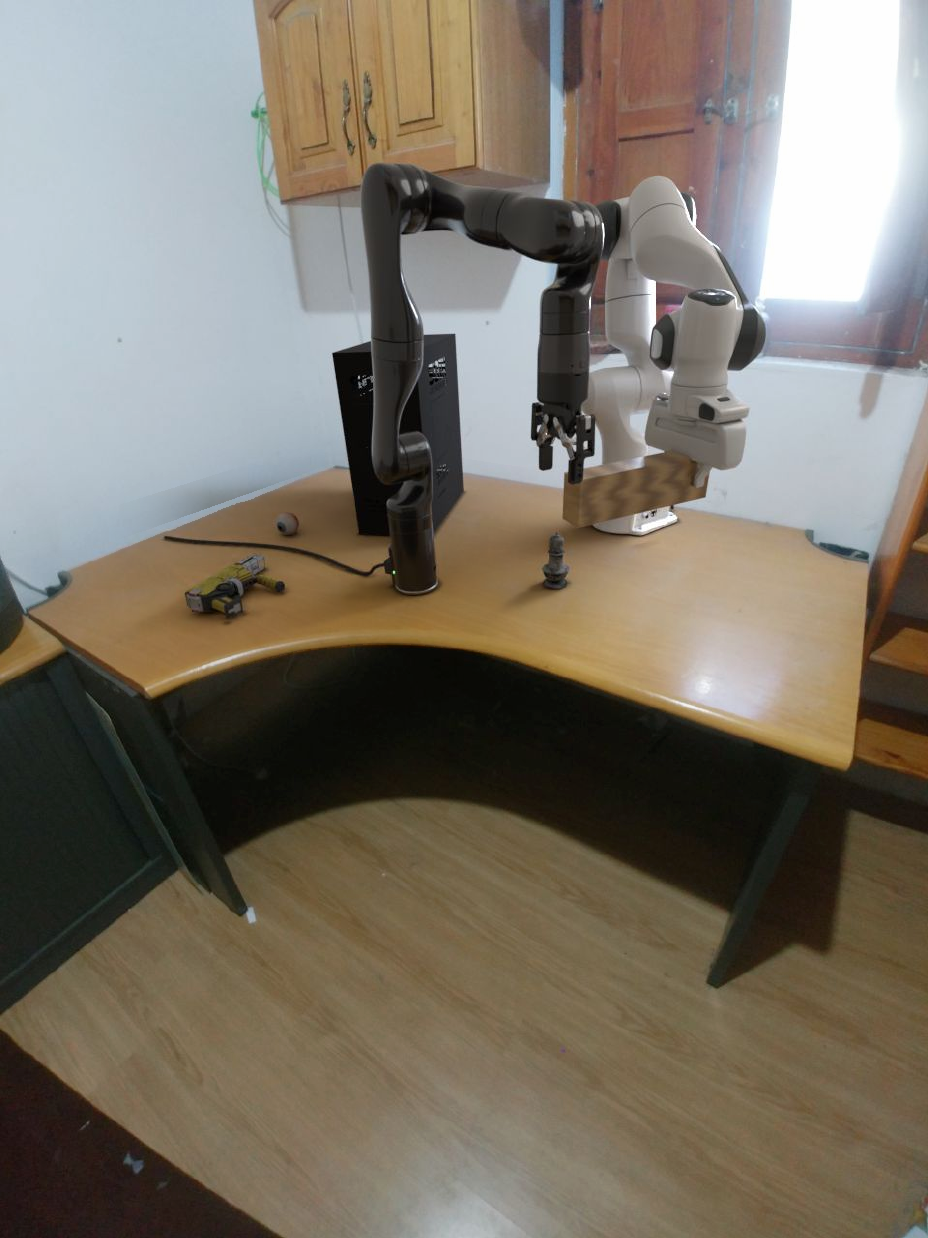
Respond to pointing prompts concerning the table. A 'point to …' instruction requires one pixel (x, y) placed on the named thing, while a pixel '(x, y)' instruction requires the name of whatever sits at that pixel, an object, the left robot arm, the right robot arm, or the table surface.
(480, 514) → the table surface
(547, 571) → the weathered chess pawn
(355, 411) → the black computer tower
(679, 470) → the bar
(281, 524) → the eyeball
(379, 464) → the left robot arm
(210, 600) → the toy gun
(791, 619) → the table surface
